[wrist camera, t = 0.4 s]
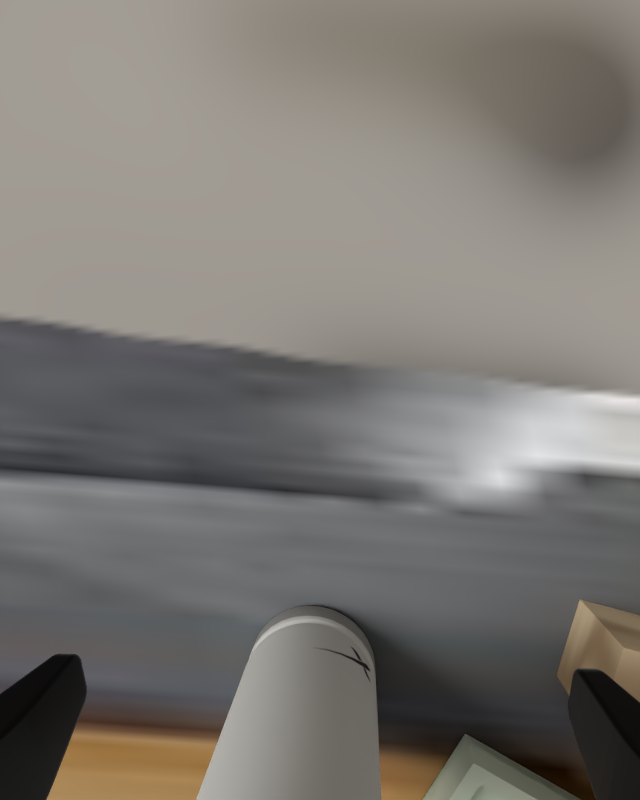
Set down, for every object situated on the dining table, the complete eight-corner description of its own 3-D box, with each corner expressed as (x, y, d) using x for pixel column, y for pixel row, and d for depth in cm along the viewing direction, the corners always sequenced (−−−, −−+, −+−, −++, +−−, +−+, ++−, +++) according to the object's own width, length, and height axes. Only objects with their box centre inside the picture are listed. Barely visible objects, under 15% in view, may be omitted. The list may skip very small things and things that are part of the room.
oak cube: (637, 696, 24) (693, 765, 20) (555, 673, 24) (594, 737, 20) (663, 620, 23) (725, 675, 19) (579, 598, 23) (623, 647, 20)
